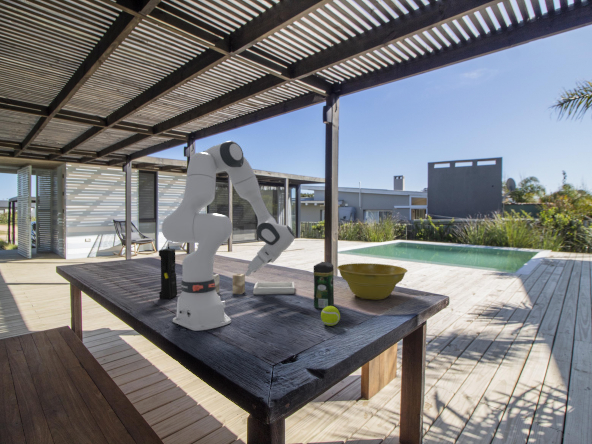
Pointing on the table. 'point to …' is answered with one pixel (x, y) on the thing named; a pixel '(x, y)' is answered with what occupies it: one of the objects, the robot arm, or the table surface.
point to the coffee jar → (323, 285)
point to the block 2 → (238, 283)
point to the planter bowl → (371, 279)
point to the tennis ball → (330, 315)
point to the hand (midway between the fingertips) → (250, 273)
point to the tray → (274, 288)
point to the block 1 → (216, 282)
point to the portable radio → (168, 274)
